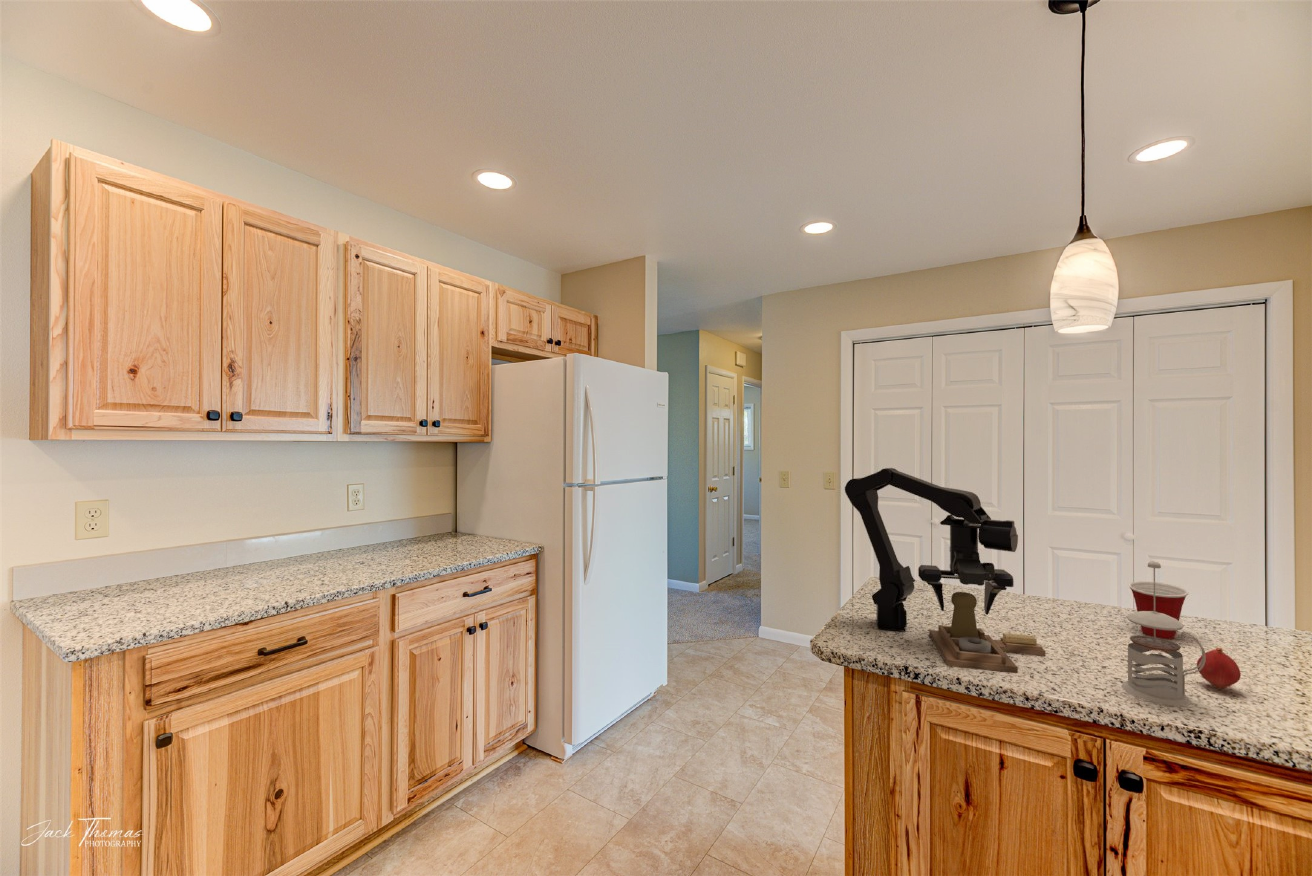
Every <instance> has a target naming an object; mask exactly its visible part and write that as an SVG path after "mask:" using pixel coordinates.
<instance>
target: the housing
mask: <svg viewBox="0 0 1312 876" xmlns="http://www.w3.org/2000/svg"><path fill="white" fill-rule="evenodd" d="M928 630H929V631H928V632H929V633H928V635H929V637H930V639H931V640H932V642H933V643H934V645H935V646H936V647H935V648H936V649H937V650H938V651H939V653H940V656H941V657H942V658H943V660H944V662H945V664H946V665H947V666H949V667H958V668H967V669H978V670H987V671H988V670H989V671H997V672H998V671H999V672H1008V673H1017V674H1018V667H1019V666H1018V665H1016V664H1015V662H1014V661H1013V660H1012V659H1011V658H1010V657H1009V656H1008V655H1007V653H1009V654H1021V655H1031V656H1038V657H1039V656H1041V657H1046V650H1045V649H1044V648H1043V646H1042V645H1040V644H1038V643H1037V646H1033V645H1022V644H1011V643H1006V645H1005V644H1004V642H1003V636H1002V637H1001V636H1000V640H999V639H994V638H992V637H991V636H990V635H989V634H986V633H985V632H984V630H983V629H982V628H979V627H977V632H978V638H975V637H962V638H952V637H950V630H951V625H943V624H941V625H940V624H938V629H937V630H935V629H934V630H933V629H928Z"/></svg>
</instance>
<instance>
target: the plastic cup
mask: <svg viewBox="0 0 1312 876" xmlns="http://www.w3.org/2000/svg"><path fill="white" fill-rule="evenodd" d="M1128 587H1129V589H1130V590H1131V592H1132V595H1133V599H1134V602H1135V607H1136V612H1139V611H1154V581H1132V582H1130V583H1128ZM1188 595H1189V591H1188V590H1187V589H1185V588H1182V587H1180V586H1176V585H1173V584H1169V583H1163V582H1156V581H1155V611H1156V612H1158V613H1163V614H1165V615H1168V616H1170V617H1172V618H1175V619H1177V620H1178V621H1179V622H1180V618H1181V614H1182V610H1183V609H1182V608H1183V605H1184V602H1185V600H1186V597H1187V596H1188ZM1140 629H1141V631H1142V632H1141V633H1142V634H1143V635H1144V636H1145V635H1146V636H1151V637H1152V636H1153V637H1154V628H1149V627H1144V626H1141V625H1140ZM1155 635H1156V637H1157V638H1160V639H1161V638H1162V639H1164V640H1165V639H1166V640H1168V641H1169V640H1174V639H1175V637H1176V635H1177V630H1161V629H1155Z"/></svg>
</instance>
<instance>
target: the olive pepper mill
mask: <svg viewBox="0 0 1312 876" xmlns="http://www.w3.org/2000/svg"><path fill="white" fill-rule="evenodd" d="M950 600H951V604H952V605H953V612H952V618H951V623H950V626H951V630H950V637H952V638H962V637H975V638H978V632H977V628H978V627H977V620H976V612H975V608H976V607H977V603H978V602H977V601H978V600H977V598H976V596H975V595H974V594H972V593H971V592H966V591H954V592H953V593H952V595H951V599H950Z"/></svg>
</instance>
